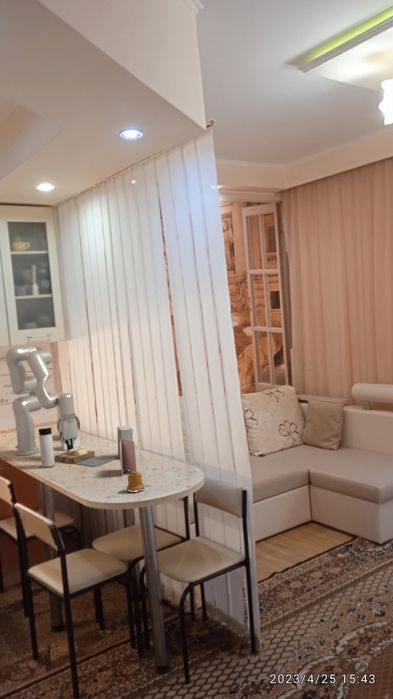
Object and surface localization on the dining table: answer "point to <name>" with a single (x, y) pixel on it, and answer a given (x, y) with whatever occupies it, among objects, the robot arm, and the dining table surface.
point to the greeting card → (127, 455)
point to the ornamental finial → (135, 481)
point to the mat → (95, 461)
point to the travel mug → (46, 448)
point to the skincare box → (124, 435)
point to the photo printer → (75, 445)
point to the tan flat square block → (74, 457)
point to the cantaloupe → (76, 420)
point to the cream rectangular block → (77, 451)
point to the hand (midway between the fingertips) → (70, 451)
